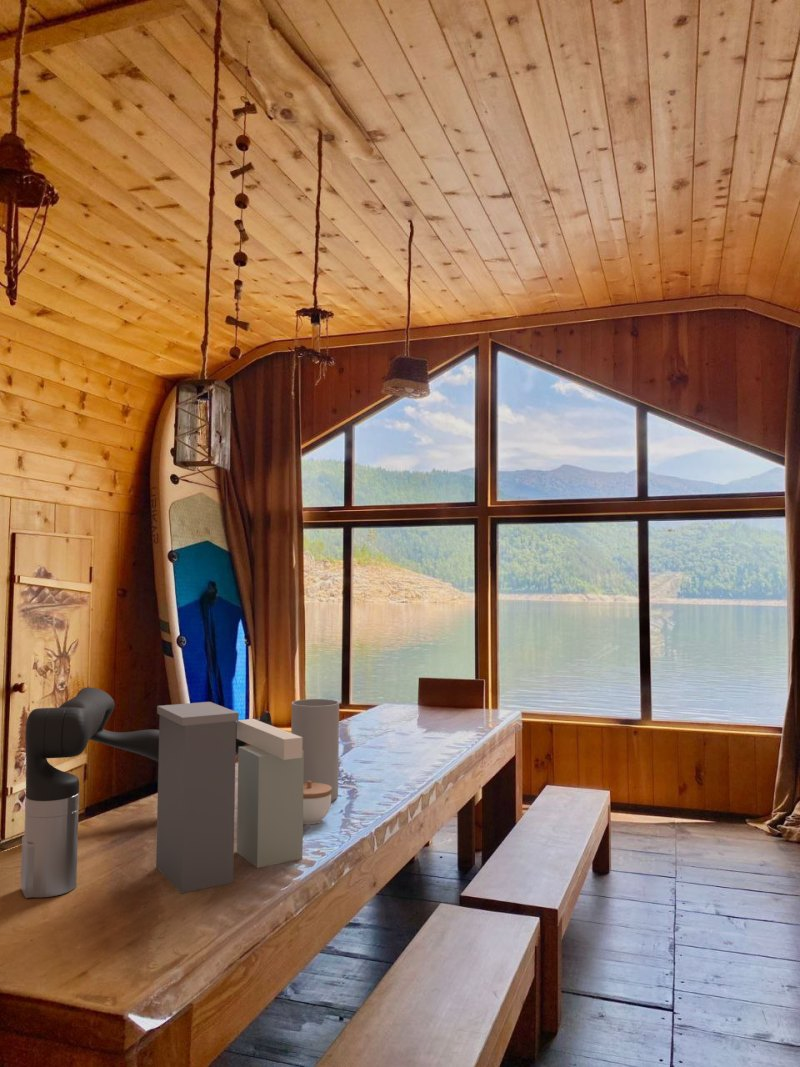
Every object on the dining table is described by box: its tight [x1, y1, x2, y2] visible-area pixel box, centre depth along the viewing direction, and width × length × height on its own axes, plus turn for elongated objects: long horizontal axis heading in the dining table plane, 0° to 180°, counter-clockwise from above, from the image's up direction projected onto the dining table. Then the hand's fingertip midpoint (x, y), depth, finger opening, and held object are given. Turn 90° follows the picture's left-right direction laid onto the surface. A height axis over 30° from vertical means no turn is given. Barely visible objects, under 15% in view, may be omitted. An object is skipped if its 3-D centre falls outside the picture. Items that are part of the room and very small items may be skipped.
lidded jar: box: [303, 781, 332, 826], centre depth 195 cm, size 11×11×9 cm
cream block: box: [236, 718, 303, 760], centre depth 173 cm, size 4×25×4 cm, turn 33°
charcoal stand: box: [155, 701, 240, 894], centre depth 160 cm, size 11×16×32 cm
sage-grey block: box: [236, 744, 304, 868], centre depth 171 cm, size 10×11×22 cm
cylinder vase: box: [290, 698, 340, 802], centre depth 215 cm, size 12×12×25 cm
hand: (250, 717), depth 181 cm, fingers open, 8 cm apart
